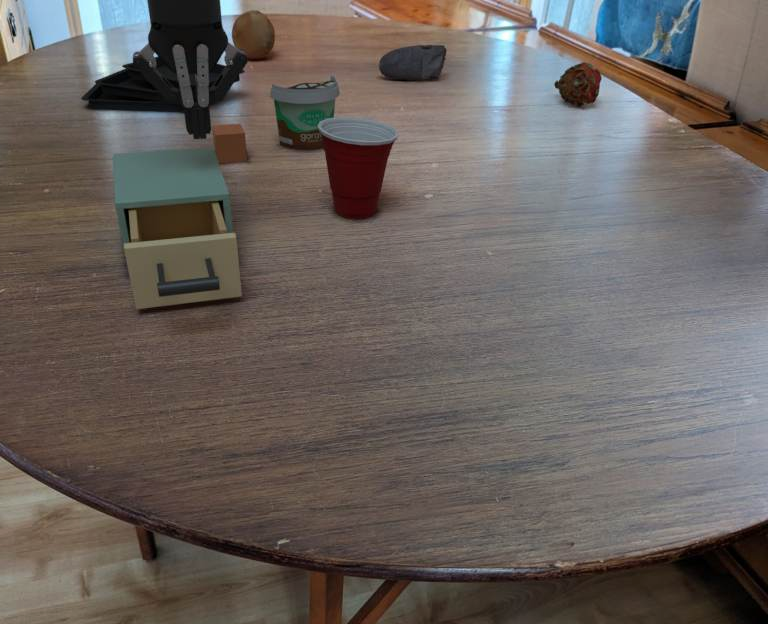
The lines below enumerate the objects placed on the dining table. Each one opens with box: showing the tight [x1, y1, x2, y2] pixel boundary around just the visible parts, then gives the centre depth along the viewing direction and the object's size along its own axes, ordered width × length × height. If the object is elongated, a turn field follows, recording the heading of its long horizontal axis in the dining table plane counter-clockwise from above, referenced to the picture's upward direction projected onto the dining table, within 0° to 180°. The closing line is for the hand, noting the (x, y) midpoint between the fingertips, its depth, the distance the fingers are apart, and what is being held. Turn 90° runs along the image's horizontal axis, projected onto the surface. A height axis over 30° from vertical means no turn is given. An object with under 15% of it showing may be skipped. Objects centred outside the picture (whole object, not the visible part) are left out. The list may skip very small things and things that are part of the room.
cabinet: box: [112, 146, 234, 274], centre depth 91 cm, size 16×13×9 cm
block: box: [211, 123, 248, 165], centre depth 116 cm, size 5×5×5 cm
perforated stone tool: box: [378, 44, 447, 81], centre depth 155 cm, size 15×5×7 cm, turn 99°
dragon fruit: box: [553, 61, 603, 108], centre depth 146 cm, size 8×8×12 cm
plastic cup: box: [318, 116, 400, 220], centre depth 99 cm, size 11×11×12 cm
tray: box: [81, 56, 246, 113], centre depth 139 cm, size 30×23×5 cm
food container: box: [269, 75, 341, 151], centre depth 120 cm, size 12×6×10 cm, turn 126°
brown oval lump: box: [231, 9, 276, 61], centre depth 164 cm, size 10×10×10 cm
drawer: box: [123, 201, 243, 310], centre depth 81 cm, size 20×11×7 cm, turn 17°
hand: (199, 136), depth 86 cm, fingers closed
